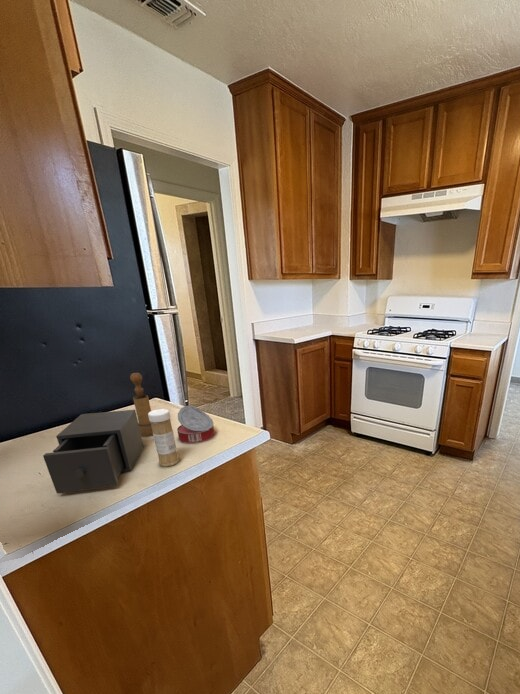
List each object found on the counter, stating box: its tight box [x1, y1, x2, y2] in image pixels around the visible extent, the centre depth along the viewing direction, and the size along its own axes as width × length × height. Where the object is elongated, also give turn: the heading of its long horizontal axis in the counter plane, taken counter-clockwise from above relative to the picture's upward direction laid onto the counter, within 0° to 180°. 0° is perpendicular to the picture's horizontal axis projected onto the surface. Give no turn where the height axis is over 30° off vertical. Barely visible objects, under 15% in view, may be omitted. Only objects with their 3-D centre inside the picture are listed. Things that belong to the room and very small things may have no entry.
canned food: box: [176, 405, 216, 444], centre depth 101 cm, size 11×10×10 cm
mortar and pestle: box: [129, 372, 153, 438], centre depth 102 cm, size 7×6×18 cm
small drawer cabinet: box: [55, 409, 145, 473], centre depth 86 cm, size 15×13×11 cm
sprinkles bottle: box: [148, 408, 180, 467], centre depth 84 cm, size 5×5×14 cm
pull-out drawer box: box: [42, 433, 125, 494], centre depth 78 cm, size 15×11×9 cm
